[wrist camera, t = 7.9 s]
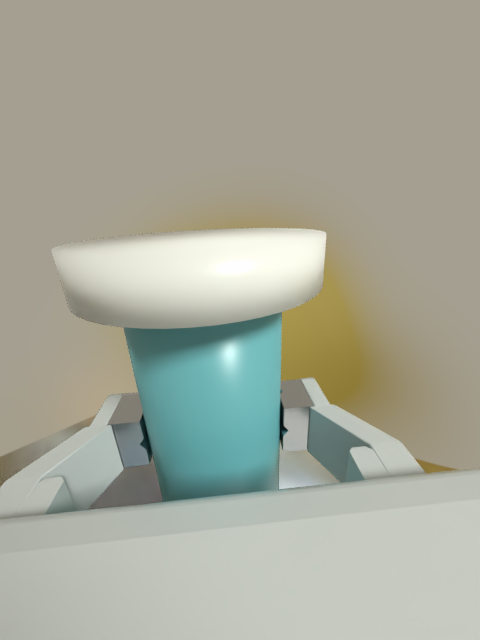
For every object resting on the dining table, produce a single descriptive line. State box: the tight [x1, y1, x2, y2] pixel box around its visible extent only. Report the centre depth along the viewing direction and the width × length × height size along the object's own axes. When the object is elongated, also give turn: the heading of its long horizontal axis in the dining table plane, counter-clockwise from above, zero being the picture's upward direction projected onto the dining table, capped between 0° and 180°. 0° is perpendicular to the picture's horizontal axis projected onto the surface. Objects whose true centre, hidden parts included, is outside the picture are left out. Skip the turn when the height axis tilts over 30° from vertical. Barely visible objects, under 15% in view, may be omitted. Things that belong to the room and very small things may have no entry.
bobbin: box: [51, 228, 326, 502], centre depth 9 cm, size 6×6×14 cm
